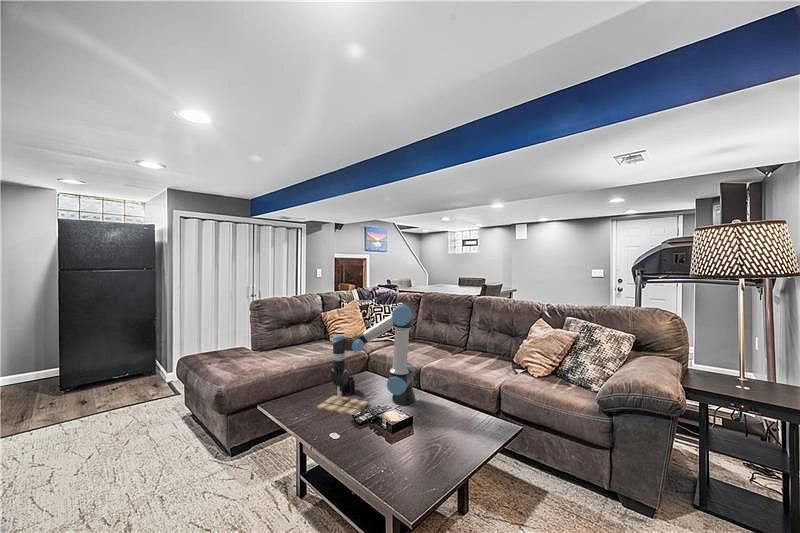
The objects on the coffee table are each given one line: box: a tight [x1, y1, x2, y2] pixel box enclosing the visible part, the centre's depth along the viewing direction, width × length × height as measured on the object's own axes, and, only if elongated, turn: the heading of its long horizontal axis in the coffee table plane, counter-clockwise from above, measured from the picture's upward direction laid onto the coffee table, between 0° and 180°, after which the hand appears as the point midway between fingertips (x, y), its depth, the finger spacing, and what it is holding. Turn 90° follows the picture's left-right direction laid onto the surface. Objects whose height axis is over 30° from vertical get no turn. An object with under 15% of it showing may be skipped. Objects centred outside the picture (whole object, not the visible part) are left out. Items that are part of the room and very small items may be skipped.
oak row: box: [316, 401, 363, 417], centre depth 203 cm, size 28×6×2 cm, turn 68°
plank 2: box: [343, 398, 370, 411], centre depth 209 cm, size 13×10×1 cm
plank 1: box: [323, 394, 351, 406], centre depth 214 cm, size 13×10×1 cm
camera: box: [342, 374, 356, 395], centre depth 232 cm, size 14×11×10 cm
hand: (339, 395), depth 215 cm, fingers closed
